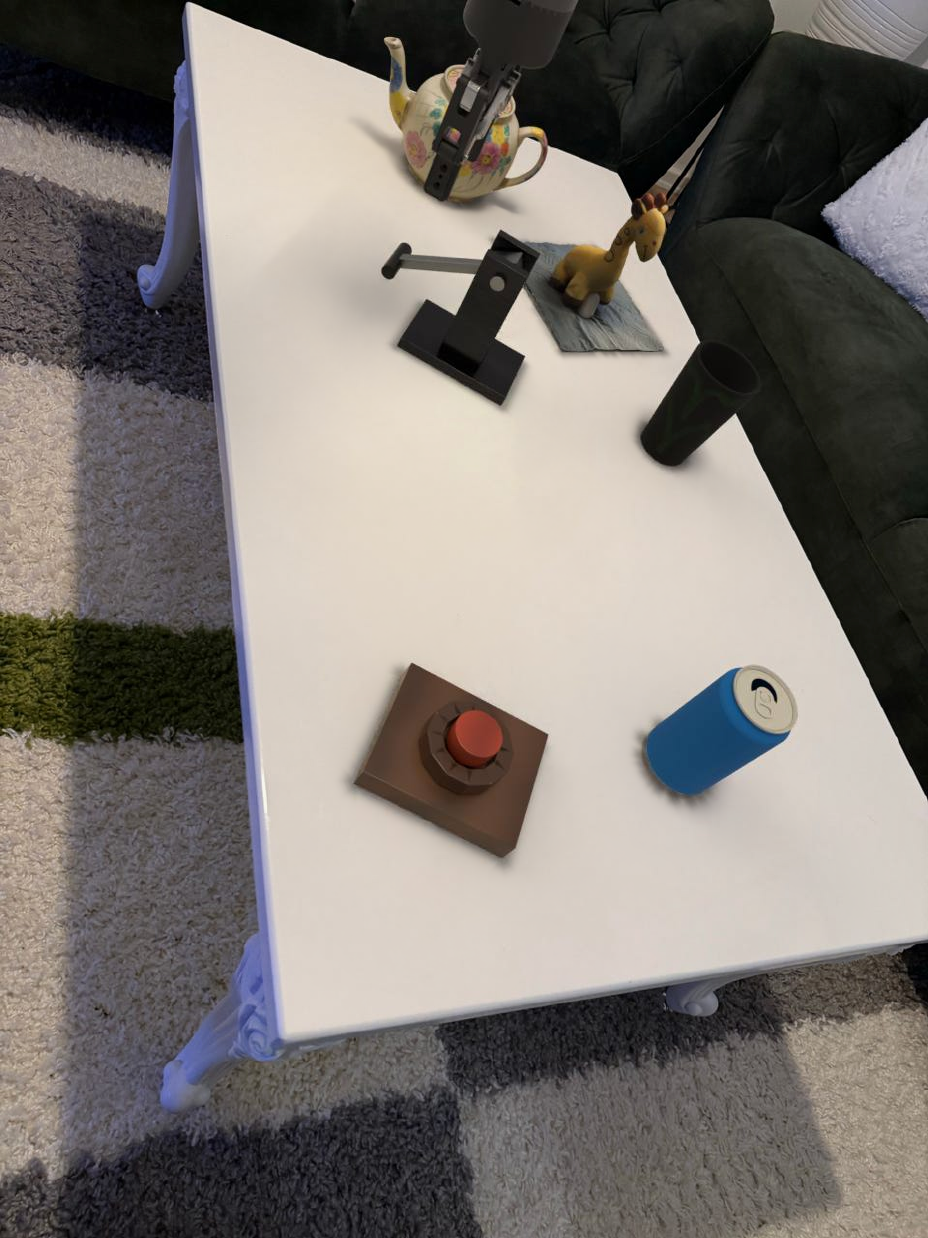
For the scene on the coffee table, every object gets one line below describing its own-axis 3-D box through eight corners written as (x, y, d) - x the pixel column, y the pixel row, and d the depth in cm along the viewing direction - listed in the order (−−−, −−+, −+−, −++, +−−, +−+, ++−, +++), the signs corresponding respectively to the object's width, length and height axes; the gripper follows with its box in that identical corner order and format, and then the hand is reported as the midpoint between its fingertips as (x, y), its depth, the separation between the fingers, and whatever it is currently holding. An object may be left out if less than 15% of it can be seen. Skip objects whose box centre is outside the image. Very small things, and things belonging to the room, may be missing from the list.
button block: (353, 783, 62) (371, 761, 59) (401, 675, 68) (419, 650, 65) (502, 858, 63) (527, 840, 60) (536, 745, 70) (560, 724, 67)
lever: (382, 283, 86) (379, 259, 84) (400, 260, 89) (397, 236, 87) (513, 294, 82) (512, 270, 81) (526, 269, 85) (526, 245, 84)
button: (439, 752, 61) (448, 742, 60) (455, 712, 64) (464, 701, 62) (484, 775, 62) (494, 766, 61) (498, 734, 64) (508, 724, 63)
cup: (627, 413, 98) (690, 330, 89) (684, 429, 101) (751, 350, 92) (638, 465, 94) (705, 383, 85) (697, 480, 97) (769, 403, 87)
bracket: (396, 346, 88) (443, 238, 79) (422, 306, 94) (469, 200, 84) (500, 406, 90) (559, 307, 80) (520, 364, 95) (578, 266, 85)
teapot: (497, 163, 116) (543, 62, 106) (522, 230, 110) (574, 129, 100) (352, 123, 107) (387, 8, 97) (370, 193, 101) (410, 78, 91)
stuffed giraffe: (562, 350, 99) (640, 226, 87) (493, 245, 106) (557, 116, 94) (661, 353, 108) (743, 241, 96) (591, 256, 115) (660, 140, 103)
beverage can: (709, 745, 77) (803, 681, 68) (703, 811, 73) (802, 752, 64) (645, 715, 76) (732, 646, 67) (636, 779, 72) (727, 715, 63)
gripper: (513, -75, 69) (438, 123, 81) (458, -29, 60) (383, 185, 72) (596, -21, 70) (509, 166, 82) (553, 33, 61) (463, 233, 73)
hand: (450, 175), depth 77 cm, fingers open, 8 cm apart
